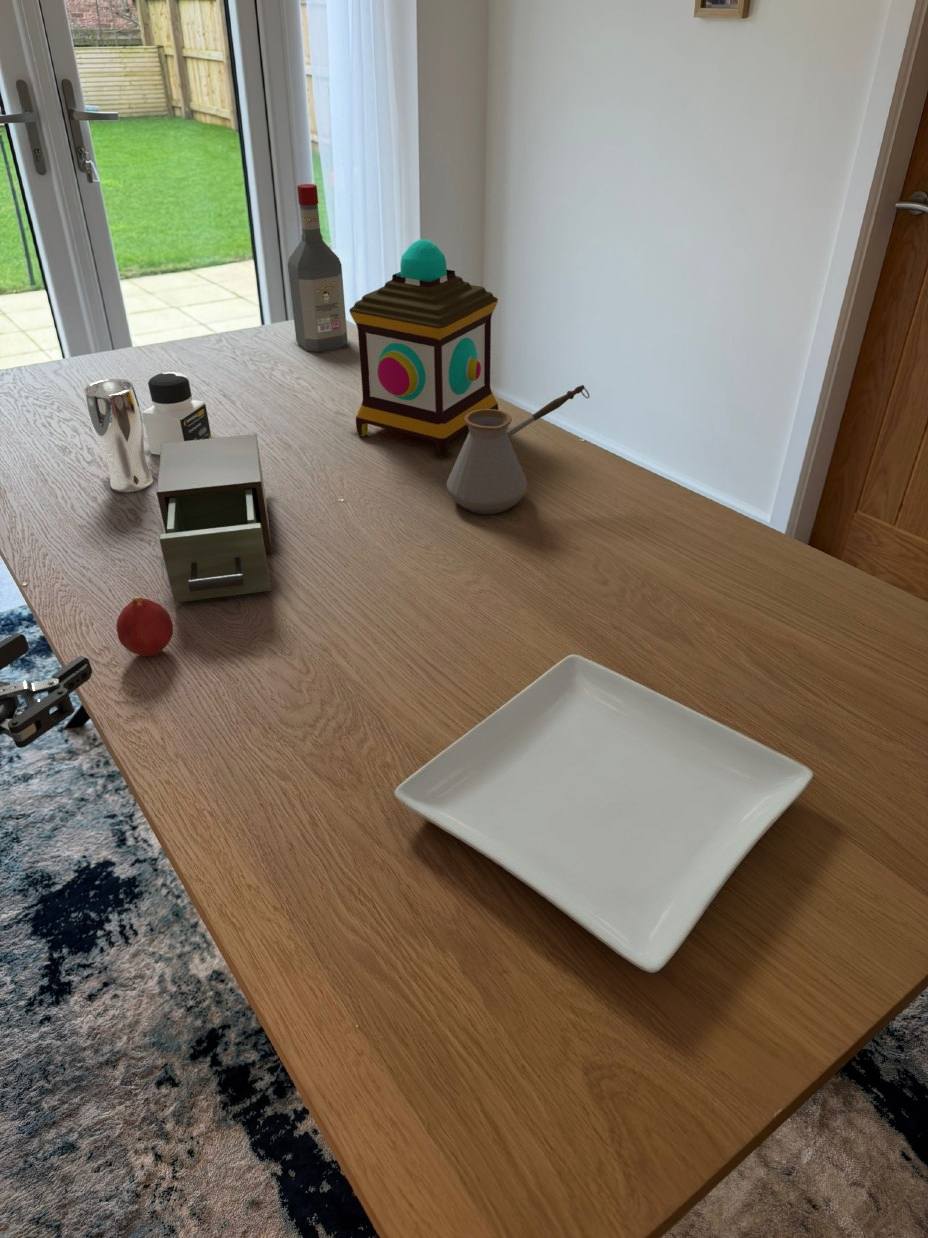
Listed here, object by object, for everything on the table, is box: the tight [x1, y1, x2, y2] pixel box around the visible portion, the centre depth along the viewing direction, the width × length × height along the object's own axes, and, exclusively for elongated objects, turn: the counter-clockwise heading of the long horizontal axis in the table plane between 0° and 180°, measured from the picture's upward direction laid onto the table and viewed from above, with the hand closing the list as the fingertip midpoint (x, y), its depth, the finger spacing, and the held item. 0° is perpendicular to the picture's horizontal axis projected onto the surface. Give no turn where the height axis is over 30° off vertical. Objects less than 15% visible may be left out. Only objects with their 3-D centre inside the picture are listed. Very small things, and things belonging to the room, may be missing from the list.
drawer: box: [158, 488, 272, 603], centre depth 108 cm, size 19×11×9 cm, turn 13°
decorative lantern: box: [349, 238, 499, 459], centre depth 141 cm, size 20×20×30 cm
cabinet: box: [156, 433, 273, 554], centre depth 119 cm, size 15×13×11 cm
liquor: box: [287, 183, 348, 353], centre depth 176 cm, size 9×9×30 cm
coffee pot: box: [446, 384, 590, 515], centre depth 126 cm, size 21×12×15 cm, turn 115°
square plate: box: [393, 653, 814, 974], centre depth 80 cm, size 27×27×4 cm
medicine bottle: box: [141, 371, 213, 456], centre depth 140 cm, size 7×7×12 cm
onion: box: [115, 595, 174, 658], centre depth 97 cm, size 6×6×8 cm
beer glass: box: [83, 378, 154, 493], centre depth 129 cm, size 7×7×15 cm
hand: (55, 652), depth 87 cm, fingers open, 8 cm apart
